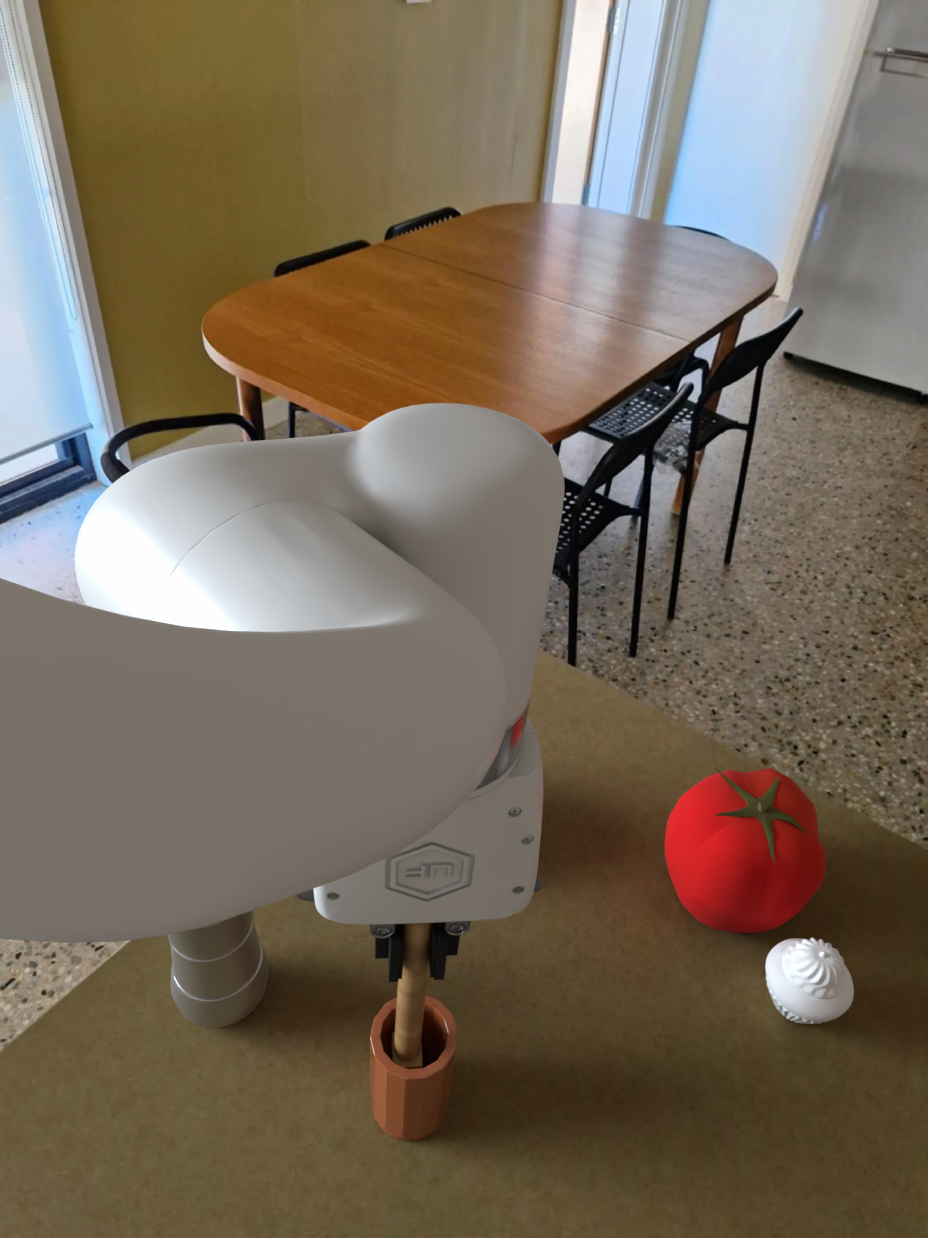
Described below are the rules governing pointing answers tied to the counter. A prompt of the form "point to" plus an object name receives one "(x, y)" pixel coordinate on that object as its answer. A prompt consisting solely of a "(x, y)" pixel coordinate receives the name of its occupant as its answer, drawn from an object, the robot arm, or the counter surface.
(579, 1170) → the counter surface
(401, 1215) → the counter surface
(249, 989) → the silver metal bottle
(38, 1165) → the counter surface
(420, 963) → the stirring stick
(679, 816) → the tomato
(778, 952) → the muffin
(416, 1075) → the crock
